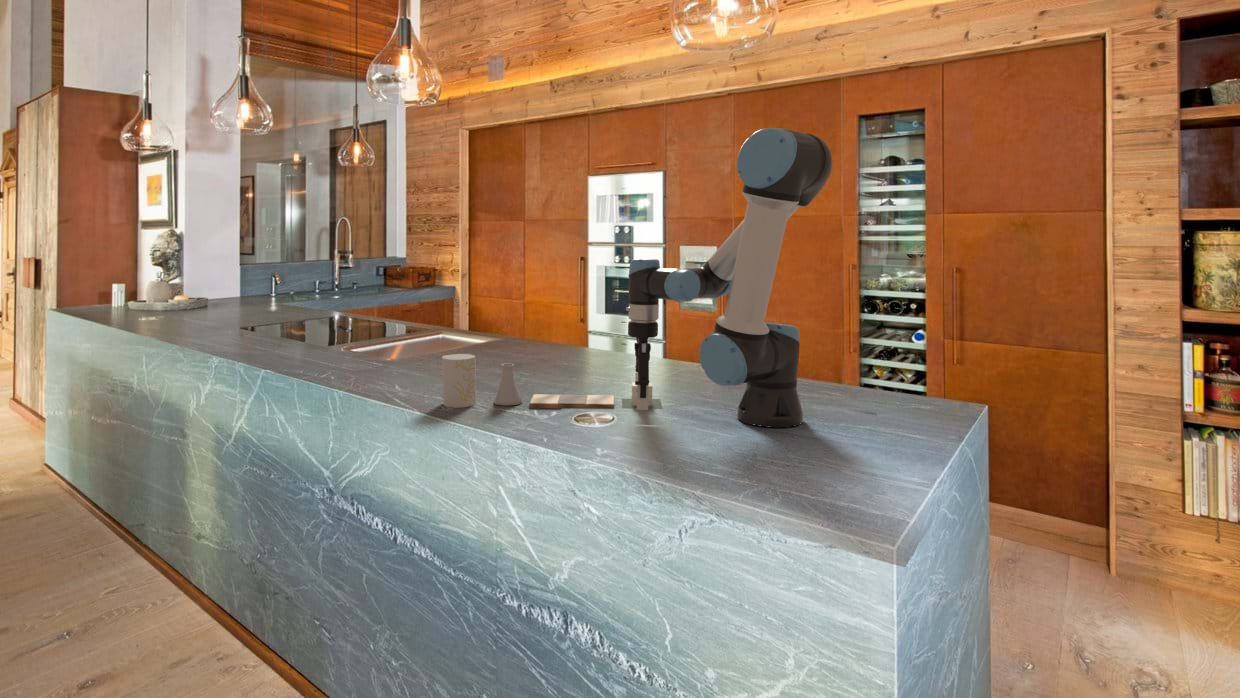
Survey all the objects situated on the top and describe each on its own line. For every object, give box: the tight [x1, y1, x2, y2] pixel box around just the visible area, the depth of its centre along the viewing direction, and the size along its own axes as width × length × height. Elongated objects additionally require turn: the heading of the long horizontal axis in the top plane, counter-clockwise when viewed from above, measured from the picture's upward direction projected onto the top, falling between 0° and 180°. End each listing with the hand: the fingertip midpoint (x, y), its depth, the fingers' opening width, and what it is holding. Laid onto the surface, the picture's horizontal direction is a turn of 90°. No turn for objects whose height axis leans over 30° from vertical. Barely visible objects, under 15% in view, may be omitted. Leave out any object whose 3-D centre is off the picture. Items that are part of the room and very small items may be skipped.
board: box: [528, 393, 615, 409], centre depth 177 cm, size 21×10×1 cm, turn 91°
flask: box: [493, 362, 523, 407], centre depth 176 cm, size 7×7×10 cm
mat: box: [621, 398, 663, 409], centre depth 177 cm, size 10×10×1 cm
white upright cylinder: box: [441, 353, 477, 409], centre depth 175 cm, size 8×8×12 cm
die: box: [630, 381, 653, 406], centre depth 177 cm, size 5×5×5 cm
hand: (641, 403), depth 178 cm, fingers open, 13 cm apart
